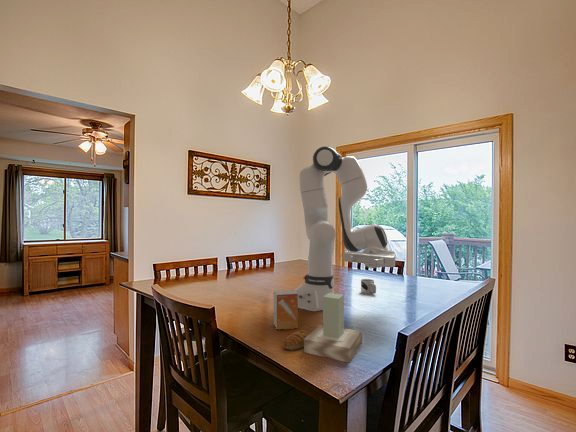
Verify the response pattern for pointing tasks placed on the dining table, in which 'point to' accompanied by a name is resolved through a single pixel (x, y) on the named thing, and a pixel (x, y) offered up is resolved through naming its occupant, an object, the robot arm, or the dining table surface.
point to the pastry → (295, 340)
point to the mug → (368, 286)
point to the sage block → (333, 315)
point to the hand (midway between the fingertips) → (363, 260)
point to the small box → (286, 309)
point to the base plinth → (333, 344)
